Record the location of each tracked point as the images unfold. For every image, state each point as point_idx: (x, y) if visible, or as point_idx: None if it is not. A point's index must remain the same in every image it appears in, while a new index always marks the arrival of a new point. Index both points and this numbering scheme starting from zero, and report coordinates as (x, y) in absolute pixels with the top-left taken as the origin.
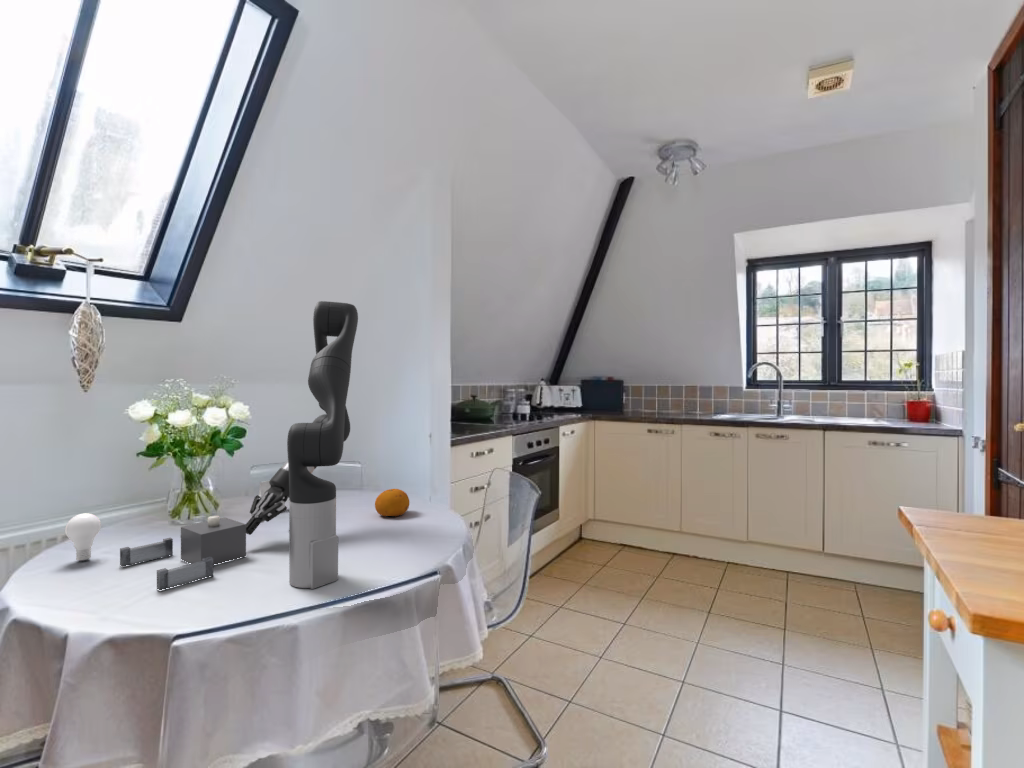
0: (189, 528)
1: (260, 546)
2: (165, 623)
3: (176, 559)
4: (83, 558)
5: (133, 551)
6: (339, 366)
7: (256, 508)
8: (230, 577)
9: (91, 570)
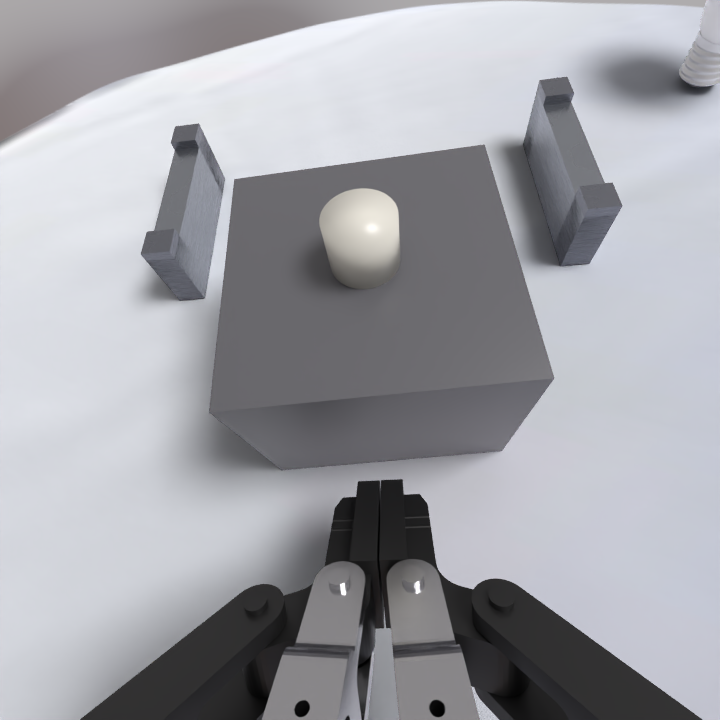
0: (409, 165)
1: None
2: (17, 164)
3: None
4: (681, 68)
5: (543, 119)
6: None
7: (448, 643)
8: (118, 335)
9: None
